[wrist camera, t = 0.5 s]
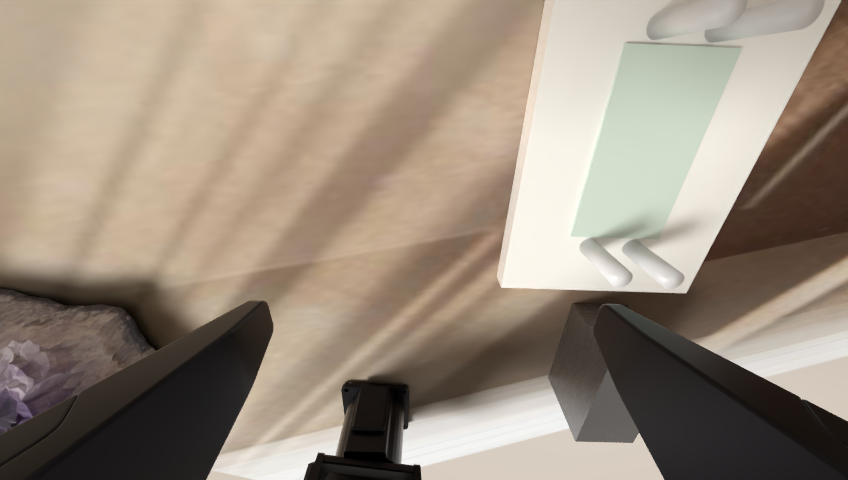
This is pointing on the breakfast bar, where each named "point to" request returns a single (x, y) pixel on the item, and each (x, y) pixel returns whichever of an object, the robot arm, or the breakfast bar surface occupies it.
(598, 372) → the block
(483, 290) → the breakfast bar surface
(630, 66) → the pin tray
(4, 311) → the geode
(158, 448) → the robot arm
